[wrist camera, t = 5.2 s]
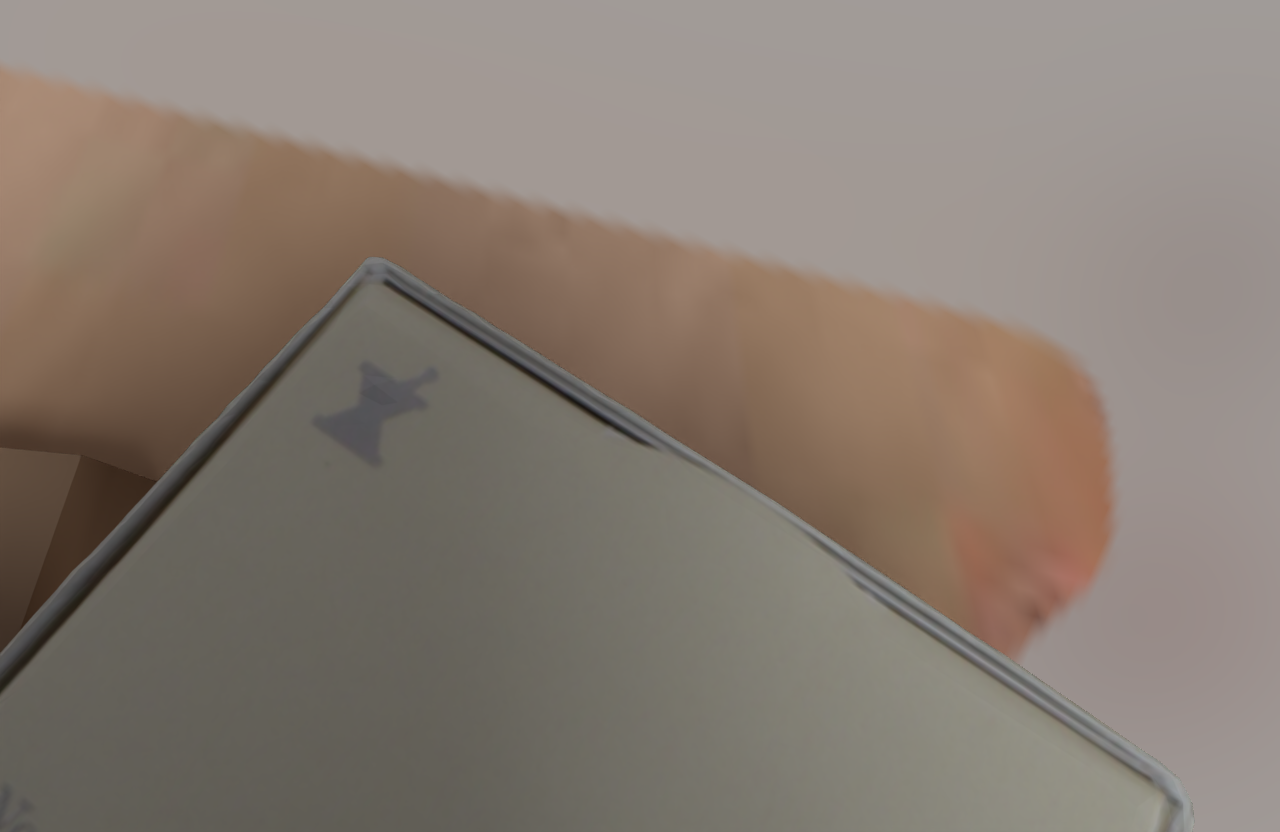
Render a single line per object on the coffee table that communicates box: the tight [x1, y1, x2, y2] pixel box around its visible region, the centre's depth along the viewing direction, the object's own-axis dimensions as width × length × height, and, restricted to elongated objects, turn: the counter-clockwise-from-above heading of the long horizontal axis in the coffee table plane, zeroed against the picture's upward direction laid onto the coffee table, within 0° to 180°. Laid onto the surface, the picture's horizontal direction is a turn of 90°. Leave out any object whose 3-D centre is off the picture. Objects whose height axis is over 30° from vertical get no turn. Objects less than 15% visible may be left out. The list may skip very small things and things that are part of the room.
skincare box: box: [0, 257, 1194, 832], centre depth 9 cm, size 6×4×12 cm
